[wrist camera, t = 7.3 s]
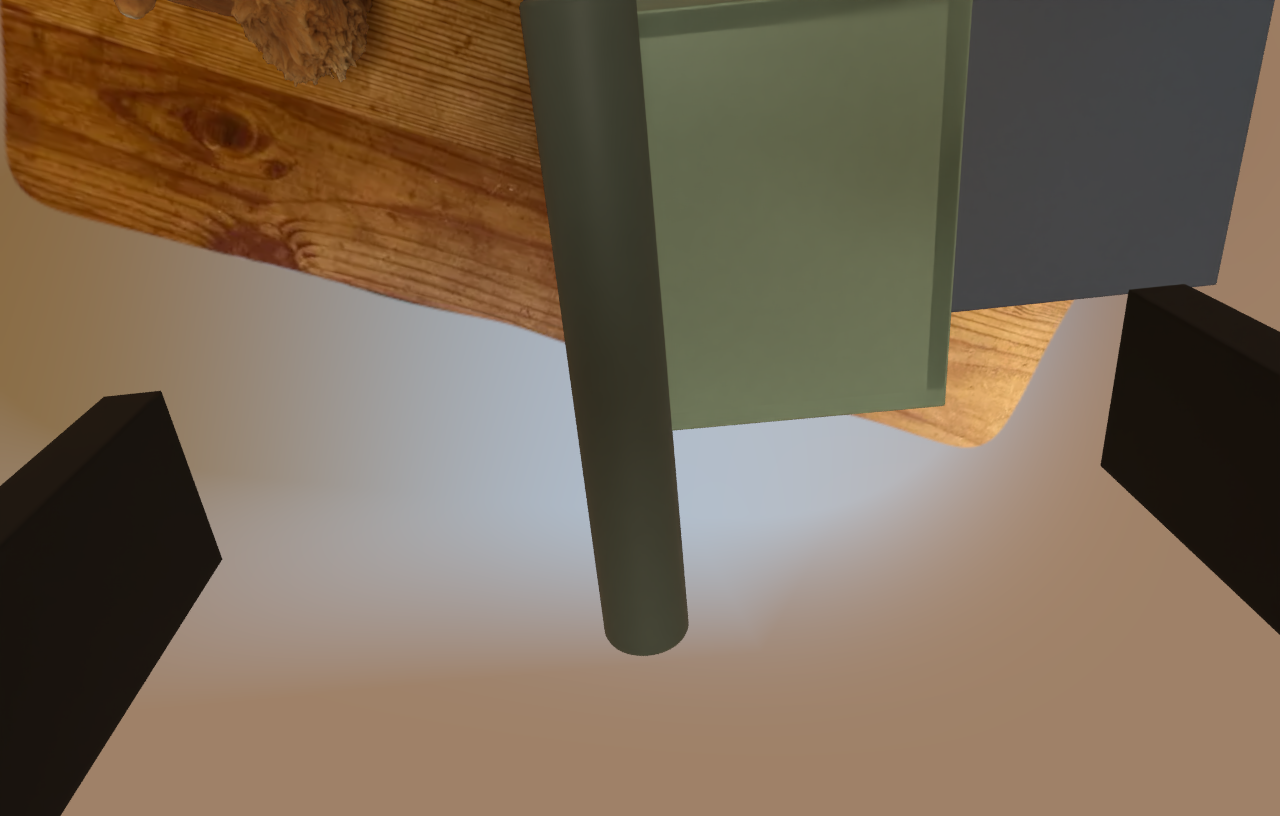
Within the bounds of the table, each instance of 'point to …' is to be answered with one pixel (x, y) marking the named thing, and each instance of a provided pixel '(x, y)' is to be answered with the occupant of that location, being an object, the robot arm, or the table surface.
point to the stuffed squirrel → (290, 31)
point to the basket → (739, 237)
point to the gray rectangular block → (1101, 145)
